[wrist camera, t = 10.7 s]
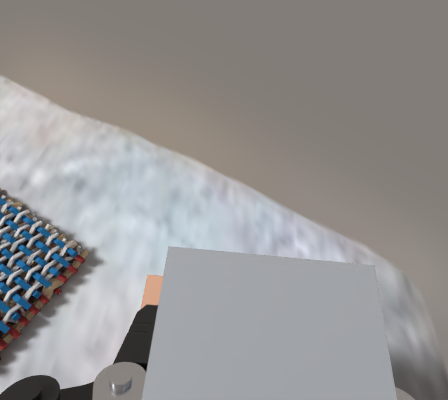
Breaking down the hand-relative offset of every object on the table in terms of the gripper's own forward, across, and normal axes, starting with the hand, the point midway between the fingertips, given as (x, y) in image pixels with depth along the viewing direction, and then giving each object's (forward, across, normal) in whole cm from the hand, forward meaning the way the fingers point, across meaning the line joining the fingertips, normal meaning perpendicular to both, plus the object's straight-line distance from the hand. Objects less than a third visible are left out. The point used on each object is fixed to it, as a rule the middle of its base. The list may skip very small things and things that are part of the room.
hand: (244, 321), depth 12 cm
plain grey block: (+2, 0, +5) cm, 5 cm away
